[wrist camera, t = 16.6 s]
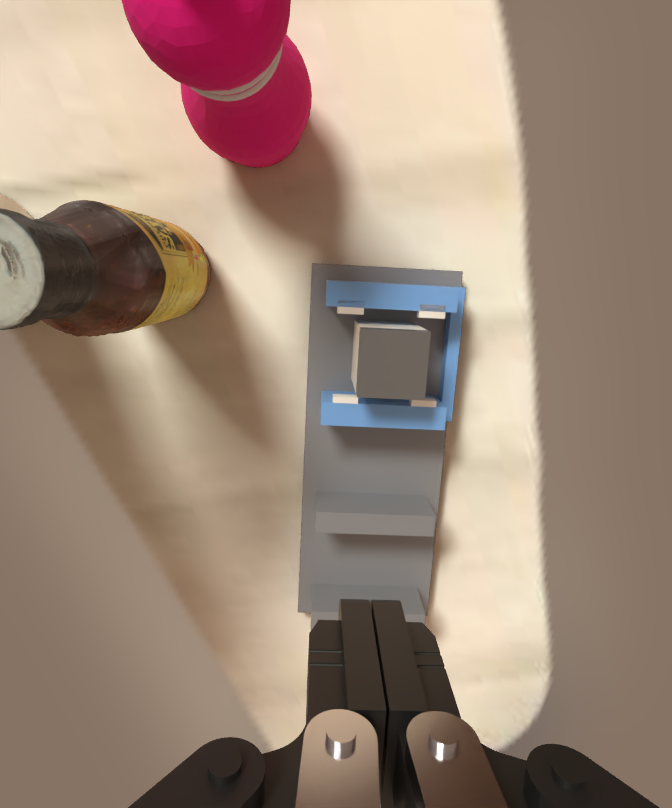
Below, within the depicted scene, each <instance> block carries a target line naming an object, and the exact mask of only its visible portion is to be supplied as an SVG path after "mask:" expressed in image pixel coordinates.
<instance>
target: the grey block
mask: <svg viewBox="0 0 672 808" xmlns="http://www.w3.org/2000/svg"><path fill="white" fill-rule="evenodd" d="M430 337H431V332H430V331H428V330H426V329H424V328H423V327H421V326H419V325H417V324H415V323H414V322H394V321H373V320H354V337H353V355H352V372H351V379H352V382H353V386H354V389H355V393H356V396H357V397H358V398H382V399H406V400H425V392H426V381H427V370H428V359H429V348H430Z"/></svg>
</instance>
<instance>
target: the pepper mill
mask: <svg viewBox="0 0 672 808" xmlns="http://www.w3.org/2000/svg"><path fill="white" fill-rule="evenodd" d="M122 3H123V7H124V11H125V15H126V17H127V20H128V22H129V25H130V27H131V30H132V32H133V33H134V35H135V37H136V38H137V40H138V42H139V44H140V45H141V46H142V48H143V49H144V51H145V52H146V54H147V55H148V56H149V58H150V59H151V60H152V61H153V62H154V63H155V64H156V65H157V66H158V67H159V68H160V69H162V70H163V71H164V72H166V73H167V74H168V75H169V76H171V77H172V78H173V79H174V80H176V81H178V82H180V83H181V94H182V101H183V104H184V108H185V111H186V114H187V116H188V118H189V120H190V123H191V125H192V127H193V128H194V130H195V132H196V133H197V134H198V136H199V137H200V139H201V140H202V141H203V142H204V143H205V144H206V145H207V146H208V147H209V148H210V149H211V150H212V151H214V152H215V153H217V154H218V155H220V156H221V157H224V158H226V159H228V160H231V161H233V162H237V163H239V164H242V165H245V166H249V167H266V166H270V165H274V164H276V163H278V162H280V161H282V160H283V159H284V158H286V157H287V156H288V155H289V154H290V153H291V152H292V151H293V150H294V148H295V147H296V145H297V144H298V142H299V140H300V138H301V135H302V132H303V130H304V129H305V127H306V124H307V121H308V118H309V114H310V109H311V96H312V94H311V84H310V80H309V76H308V72H307V69H306V66H305V63H304V61H303V58H302V56H301V54H300V52H299V51H298V49H297V47H296V46H295V44H294V43H293V42H292V41H291V40H290V38H289V37H288V36H287V35H286V33H287V28H288V22H289V16H290V3H291V0H122Z"/></svg>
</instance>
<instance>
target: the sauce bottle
mask: <svg viewBox="0 0 672 808" xmlns="http://www.w3.org/2000/svg"><path fill="white" fill-rule="evenodd" d="M209 282H210V266H209V262H208V259H207V257H206V255H205V253H204V249H203V248H202V246H201V245H200V244H199V243H198V242H197V241H196V240H195V239H194V238H193V237H192V236H191V235H190V234H189V233H188V232H186V231H185V230H184V229H182V228H180V227H178V226H176V225H174V224H171V223H168V222H165V221H161V220H158V219H155V218H151V217H149V216H146V215H142V214H138V213H135V212H131V211H128V210H124V209H121V208H117V207H114V206H111V205H107V204H103V203H100V202H95V201H88V200H79V201H73V202H69V203H66V204H64V205H62V206H60V207H58V208H57V209H56V210H54V211H52V212H51V213H49V214H47V215H45V216H44V217H42V218H40V219H31V218H28V217H26V216H24V215H23V214H21V213H18V212H14V211H11V210H7V209H1V208H0V330H5V329H13V328H18V327H23V326H26V325H31V324H34V323H36V322H38V321H40V320H42V321H44V322H46V323H47V324H49V325H50V326H52V327H54V328H56V329H58V330H60V331H63V332H65V333H68V334H72V335H75V336H99V335H106V334H109V333H120V332H125V331H129V330H133V329H137V328H140V327H144V326H148V325H151V324H155V323H159V322H163V321H167V320H170V319H173V318H177V317H180V316H182V315H184V314H186V313H187V312H189V311H190V310H191V309H193V308H195V307H196V306H197V305H198V304H199V302H200V301H201V299H202V298H203V296H204V294H205V292H206V291H207V288H208V285H209Z"/></svg>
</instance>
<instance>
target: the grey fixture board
mask: <svg viewBox="0 0 672 808" xmlns="http://www.w3.org/2000/svg"><path fill="white" fill-rule="evenodd" d="M462 274H463V272H461V271H442V270H424V269H406V268H388V267H369V266H351V265H333V264H314V263H312V280H311V304H310V328H309V353H308V377H307V401H306V426H305V450H304V475H303V499H302V523H301V548H300V572H299V597H298V612H305V613H311V630H312V629H313V627H314V626H315V624H316V623H317V621H318V620H338V614H339V601H340V599H366V600H369V601H371V600H400V601H401V604H402V608H403V612H404V616H405V620H406V622H422V623H423V624H424V625H425V616H427V610H428V601H429V591H430V581H431V572H432V562H433V553H434V543H435V533H436V524H437V514H438V505H439V495H440V485H441V476H442V466H443V456H444V447H445V437H446V428H447V421H452V413H453V403H454V394H455V385H456V375H457V366H458V356H459V347H460V337H461V328H462V318H463V309H464V300H465V290H466V287H461V283H462ZM354 320H373V321H394V322H414V323H415V324H417V325H419V326H421V327H423V328H424V329H426V330H428V331H430V332H431V337H430V348H429V359H428V370H427V381H426V392H425V400H406V399H382V398H358V397H357V396H356V393H355V389H354V386H353V382H352V379H351V372H352V355H353V337H354Z"/></svg>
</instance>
